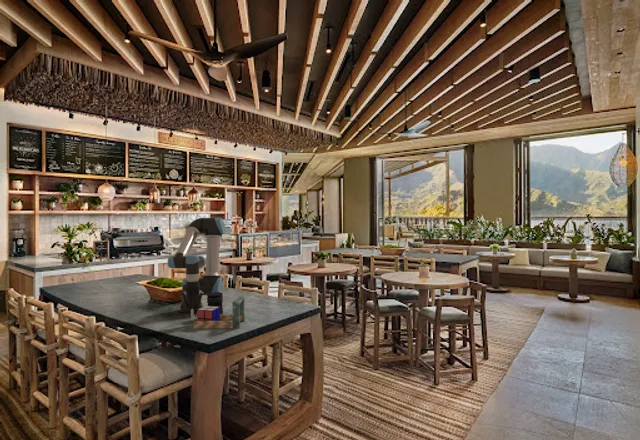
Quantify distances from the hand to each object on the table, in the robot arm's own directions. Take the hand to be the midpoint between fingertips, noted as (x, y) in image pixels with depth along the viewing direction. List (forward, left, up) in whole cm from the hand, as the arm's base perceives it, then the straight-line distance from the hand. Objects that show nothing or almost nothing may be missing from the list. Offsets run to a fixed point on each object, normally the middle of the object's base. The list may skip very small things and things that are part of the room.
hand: (192, 319), depth 229 cm
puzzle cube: (+10, 0, -3) cm, 10 cm away
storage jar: (+8, +18, -3) cm, 20 cm away
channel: (+16, 0, -3) cm, 16 cm away
